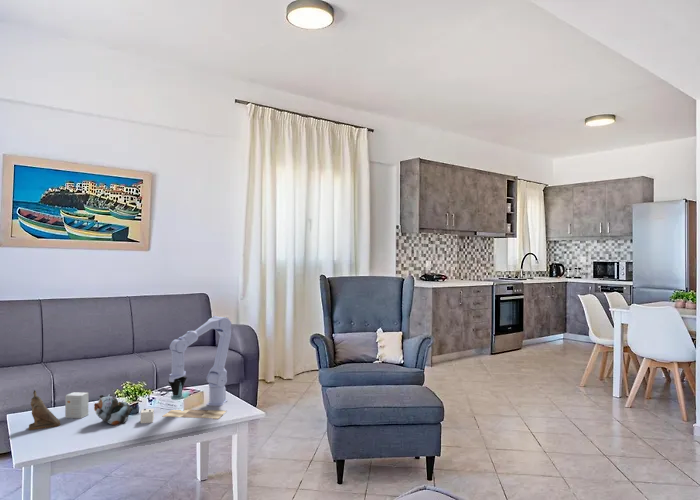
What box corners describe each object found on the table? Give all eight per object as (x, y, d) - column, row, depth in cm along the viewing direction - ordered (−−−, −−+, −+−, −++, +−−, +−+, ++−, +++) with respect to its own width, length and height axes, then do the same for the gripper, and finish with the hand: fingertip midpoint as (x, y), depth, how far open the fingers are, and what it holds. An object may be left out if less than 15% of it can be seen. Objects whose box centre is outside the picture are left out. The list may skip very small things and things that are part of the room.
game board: (173, 409, 245) (173, 408, 245) (227, 411, 243) (227, 410, 243) (161, 417, 233) (161, 416, 233) (218, 419, 231) (218, 418, 231)
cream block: (142, 420, 228) (142, 408, 229) (153, 419, 230) (154, 407, 230) (140, 423, 224) (140, 411, 224) (152, 423, 225) (152, 410, 225)
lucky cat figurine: (122, 426, 220) (106, 400, 217) (99, 435, 221) (82, 410, 218) (137, 407, 234) (122, 382, 231) (116, 415, 236) (100, 391, 233)
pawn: (174, 396, 242) (174, 378, 242) (185, 396, 242) (185, 379, 242) (169, 399, 237) (169, 381, 237) (180, 400, 236) (180, 381, 236)
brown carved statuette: (29, 436, 214) (19, 396, 213) (30, 432, 219) (20, 392, 217) (60, 426, 219) (51, 387, 218) (61, 422, 224) (52, 384, 223)
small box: (88, 415, 236) (89, 392, 236) (81, 418, 230) (81, 395, 231) (72, 414, 237) (73, 391, 237) (64, 418, 231) (65, 395, 231)
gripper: (176, 361, 247) (175, 389, 247) (162, 368, 233) (162, 397, 232) (190, 362, 246) (189, 390, 246) (177, 368, 232) (177, 398, 232)
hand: (177, 393), depth 239 cm, fingers closed on pawn, 4 cm apart
